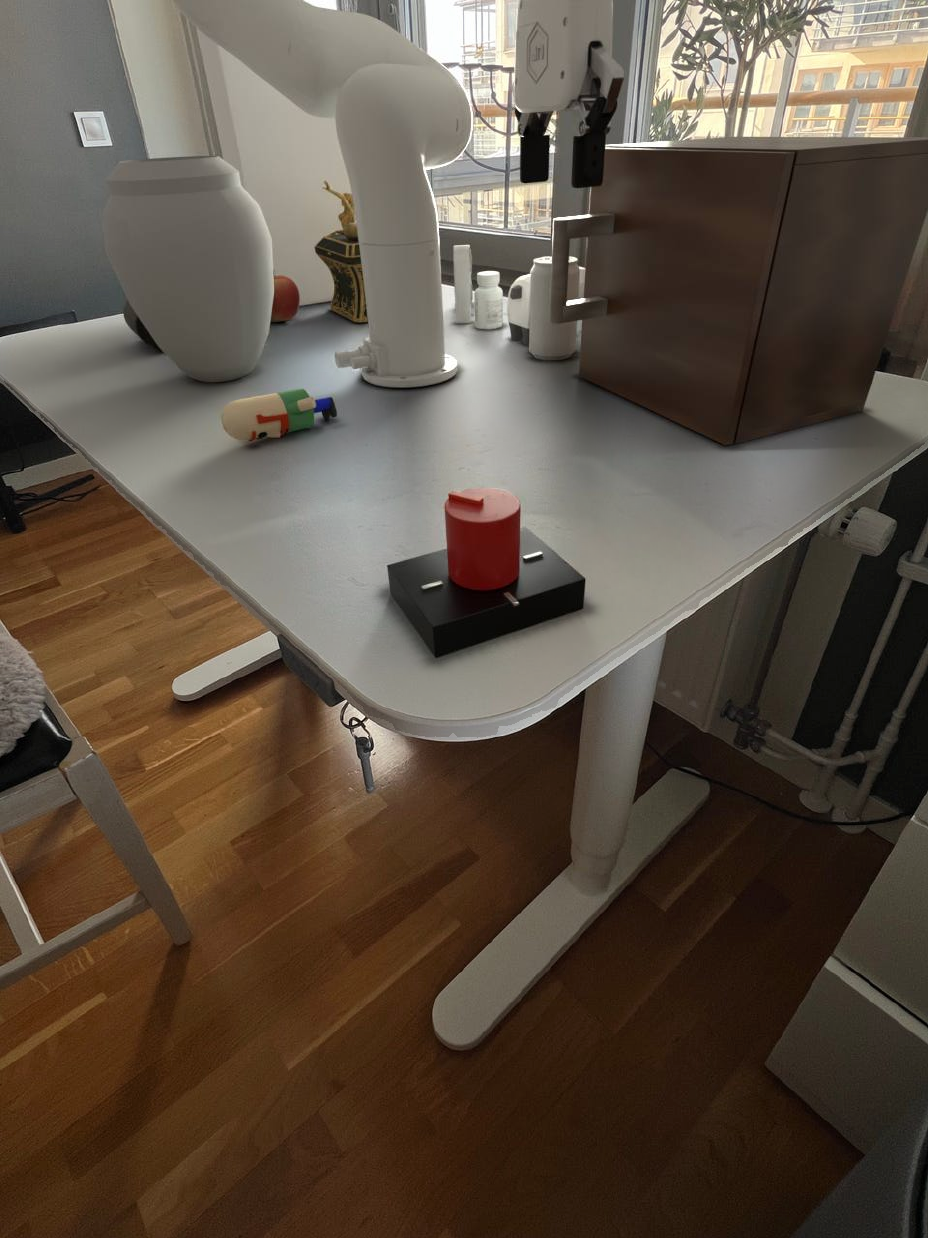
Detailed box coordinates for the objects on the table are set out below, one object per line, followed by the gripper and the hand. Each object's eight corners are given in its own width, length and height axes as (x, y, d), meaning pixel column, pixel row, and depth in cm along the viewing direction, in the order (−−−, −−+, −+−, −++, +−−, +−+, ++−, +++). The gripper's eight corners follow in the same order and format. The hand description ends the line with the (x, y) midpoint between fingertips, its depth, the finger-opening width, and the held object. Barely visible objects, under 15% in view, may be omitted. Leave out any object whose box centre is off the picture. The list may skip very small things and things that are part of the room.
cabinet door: (669, 460, 64) (716, 158, 50) (531, 385, 83) (536, 151, 69) (733, 443, 66) (795, 152, 52) (584, 374, 85) (600, 147, 71)
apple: (282, 313, 120) (272, 263, 115) (313, 318, 116) (305, 266, 111) (246, 323, 115) (235, 271, 110) (278, 328, 111) (268, 275, 106)
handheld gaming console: (473, 314, 122) (472, 323, 109) (457, 315, 122) (455, 323, 109) (471, 244, 117) (470, 244, 103) (455, 245, 117) (452, 245, 104)
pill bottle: (507, 324, 107) (507, 271, 103) (493, 331, 105) (493, 276, 100) (484, 322, 109) (483, 269, 105) (470, 328, 107) (468, 274, 102)
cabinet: (734, 444, 66) (798, 149, 52) (586, 375, 85) (602, 145, 71) (863, 410, 72) (952, 137, 58) (697, 353, 91) (733, 136, 77)
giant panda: (522, 347, 97) (523, 273, 91) (501, 339, 101) (501, 268, 95) (601, 330, 102) (607, 260, 97) (578, 323, 106) (583, 255, 101)
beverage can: (573, 362, 90) (579, 262, 83) (525, 361, 91) (527, 262, 84) (576, 349, 95) (582, 253, 88) (531, 348, 96) (533, 254, 89)
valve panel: (438, 663, 42) (436, 629, 40) (387, 591, 48) (383, 559, 47) (587, 613, 45) (590, 580, 44) (521, 552, 52) (522, 521, 50)
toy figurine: (321, 432, 79) (221, 453, 73) (310, 393, 78) (207, 411, 72) (349, 419, 72) (240, 441, 66) (337, 376, 71) (225, 394, 65)
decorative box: (321, 308, 122) (301, 179, 110) (370, 301, 125) (356, 174, 113) (363, 331, 107) (345, 185, 96) (417, 322, 111) (406, 180, 99)
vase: (294, 348, 101) (258, 151, 86) (296, 388, 86) (253, 157, 71) (159, 361, 98) (98, 160, 83) (136, 405, 83) (57, 167, 68)
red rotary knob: (531, 562, 46) (533, 491, 43) (498, 598, 42) (497, 524, 39) (471, 546, 48) (468, 477, 45) (434, 579, 45) (429, 507, 41)
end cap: (131, 342, 107) (117, 296, 103) (177, 335, 110) (164, 290, 106) (144, 356, 100) (129, 307, 96) (192, 348, 103) (179, 300, 99)
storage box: (269, 310, 122) (212, 15, 98) (252, 300, 129) (195, 24, 105) (374, 294, 130) (344, 18, 106) (352, 285, 137) (320, 26, 113)
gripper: (482, -37, 62) (486, 183, 72) (588, -83, 49) (575, 192, 60) (551, -35, 64) (546, 178, 75) (670, -78, 52) (644, 185, 62)
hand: (559, 184), depth 67 cm, fingers open, 9 cm apart
